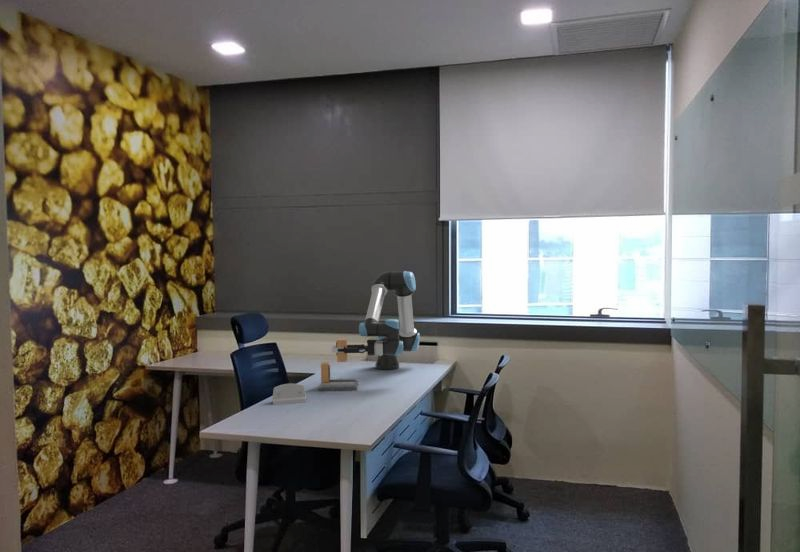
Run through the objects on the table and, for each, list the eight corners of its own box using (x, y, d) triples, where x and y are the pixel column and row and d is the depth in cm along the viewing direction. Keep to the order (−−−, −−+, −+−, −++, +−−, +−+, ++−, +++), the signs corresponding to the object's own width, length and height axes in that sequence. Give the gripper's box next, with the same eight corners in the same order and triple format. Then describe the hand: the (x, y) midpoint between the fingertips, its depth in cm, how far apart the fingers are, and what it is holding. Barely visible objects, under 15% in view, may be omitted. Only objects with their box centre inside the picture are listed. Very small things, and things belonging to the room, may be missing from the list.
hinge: (272, 404, 280) (271, 384, 283) (272, 405, 285) (271, 385, 287) (306, 402, 284) (305, 381, 287) (306, 403, 288) (305, 383, 291)
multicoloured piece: (321, 384, 320) (321, 360, 319) (358, 383, 320) (357, 359, 319) (318, 390, 306) (317, 365, 305) (356, 390, 306) (356, 365, 305)
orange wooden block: (337, 360, 314) (336, 338, 313) (347, 360, 314) (346, 338, 314) (336, 361, 309) (335, 340, 308) (346, 361, 309) (346, 339, 309)
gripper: (374, 358, 303) (330, 359, 302) (375, 352, 321) (334, 352, 320) (374, 344, 302) (330, 345, 302) (375, 338, 320) (333, 339, 320)
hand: (332, 349), depth 311 cm, fingers closed on orange wooden block, 5 cm apart
